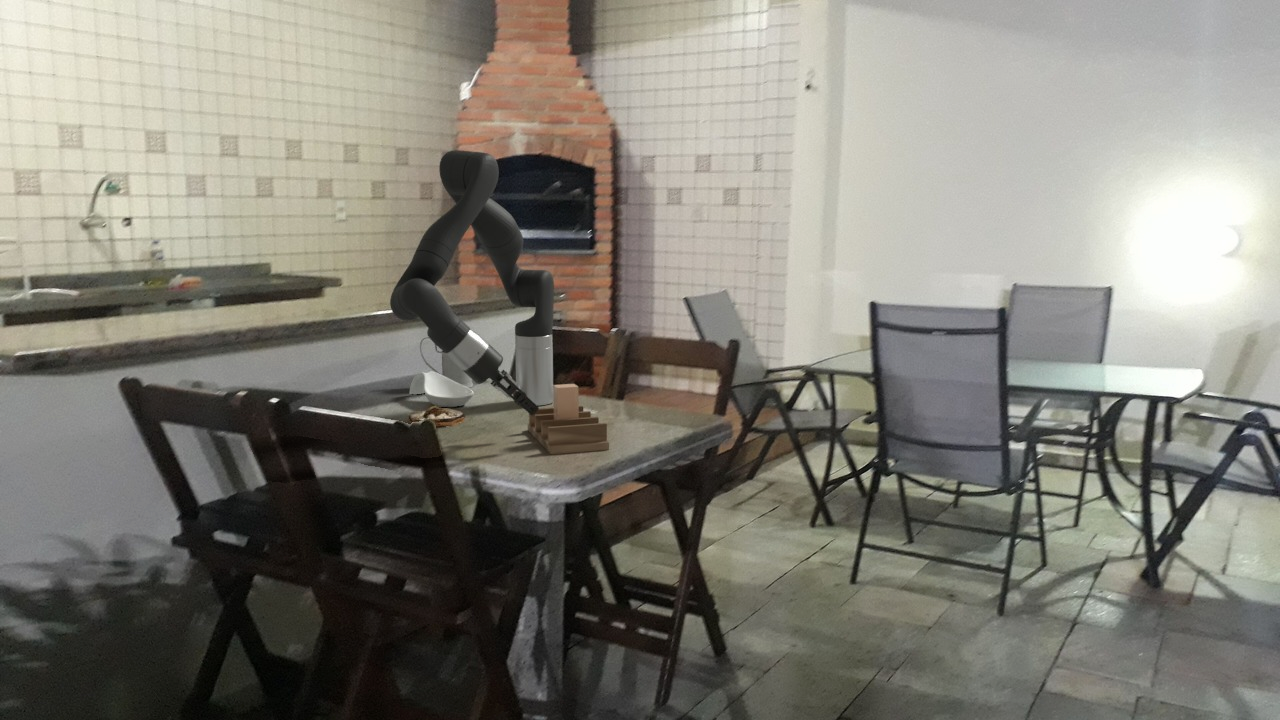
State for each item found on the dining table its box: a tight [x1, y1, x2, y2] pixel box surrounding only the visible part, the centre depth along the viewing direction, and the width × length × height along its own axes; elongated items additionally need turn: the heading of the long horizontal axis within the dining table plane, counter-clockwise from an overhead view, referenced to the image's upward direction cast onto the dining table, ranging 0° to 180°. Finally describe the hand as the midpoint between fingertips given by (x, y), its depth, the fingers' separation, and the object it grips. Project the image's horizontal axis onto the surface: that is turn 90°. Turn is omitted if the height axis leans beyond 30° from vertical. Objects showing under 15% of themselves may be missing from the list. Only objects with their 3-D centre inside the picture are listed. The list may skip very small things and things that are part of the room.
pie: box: [408, 405, 466, 429], centre depth 215 cm, size 15×15×4 cm
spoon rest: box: [409, 370, 474, 408], centre depth 237 cm, size 24×12×7 cm, turn 40°
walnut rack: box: [527, 405, 610, 455], centre depth 198 cm, size 22×12×5 cm, turn 19°
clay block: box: [553, 383, 580, 420], centre depth 197 cm, size 4×4×10 cm
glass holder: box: [419, 336, 474, 388], centre depth 256 cm, size 9×14×15 cm, turn 91°
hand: (531, 407), depth 194 cm, fingers open, 8 cm apart
